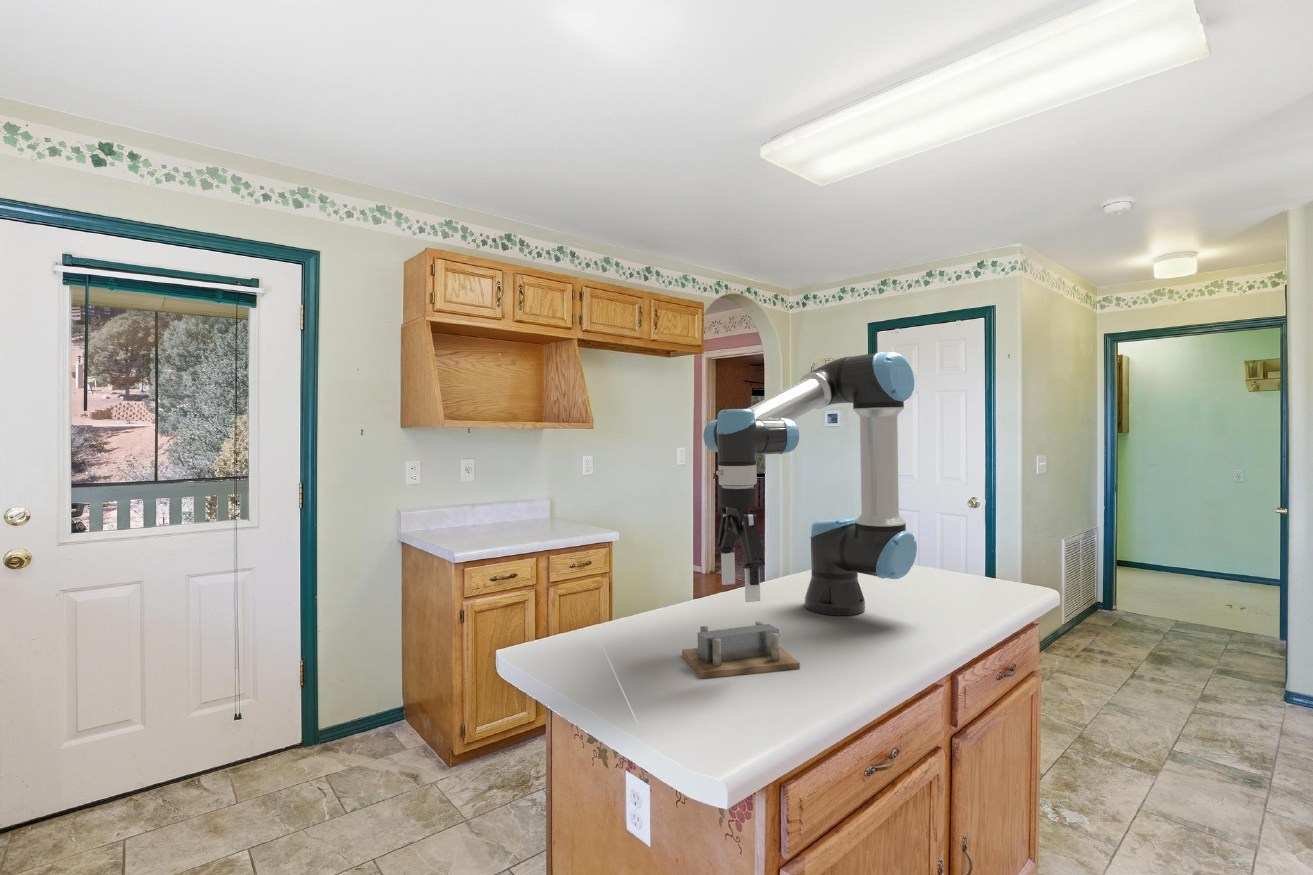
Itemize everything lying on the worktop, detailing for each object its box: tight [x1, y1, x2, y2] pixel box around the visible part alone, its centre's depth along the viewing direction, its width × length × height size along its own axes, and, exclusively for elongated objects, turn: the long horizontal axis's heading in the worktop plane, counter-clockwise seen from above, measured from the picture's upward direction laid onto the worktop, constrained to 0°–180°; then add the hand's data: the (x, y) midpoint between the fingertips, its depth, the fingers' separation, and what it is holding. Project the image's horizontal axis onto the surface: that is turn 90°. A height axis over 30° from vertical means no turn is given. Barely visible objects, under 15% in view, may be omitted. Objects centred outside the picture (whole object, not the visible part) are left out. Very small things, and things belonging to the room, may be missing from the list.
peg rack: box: [681, 621, 801, 680], centre depth 128 cm, size 20×13×6 cm, turn 103°
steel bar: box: [697, 623, 780, 664], centre depth 128 cm, size 16×4×5 cm, turn 109°
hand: (740, 592), depth 129 cm, fingers open, 13 cm apart
